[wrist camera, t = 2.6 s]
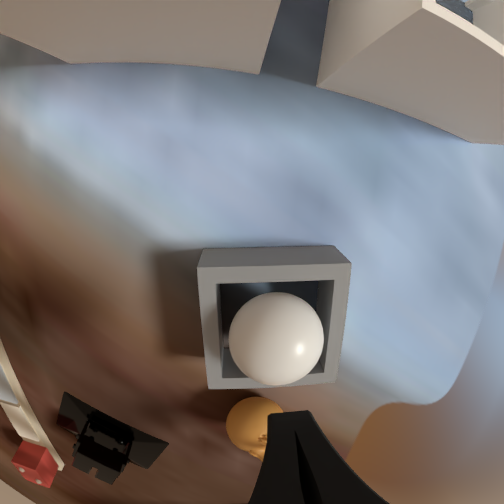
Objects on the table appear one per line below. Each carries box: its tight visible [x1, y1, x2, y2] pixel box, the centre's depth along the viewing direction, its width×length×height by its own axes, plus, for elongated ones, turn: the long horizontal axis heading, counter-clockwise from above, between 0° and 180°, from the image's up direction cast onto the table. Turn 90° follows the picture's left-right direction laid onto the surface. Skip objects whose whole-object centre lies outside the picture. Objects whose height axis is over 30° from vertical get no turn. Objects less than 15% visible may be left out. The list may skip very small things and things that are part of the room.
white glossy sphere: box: [229, 292, 324, 386], centre depth 15 cm, size 5×5×5 cm
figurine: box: [226, 397, 283, 462], centre depth 15 cm, size 8×6×12 cm
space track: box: [0, 339, 64, 488], centre depth 18 cm, size 20×4×4 cm, turn 1°
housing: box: [197, 246, 352, 389], centre depth 17 cm, size 7×7×3 cm
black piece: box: [57, 392, 169, 485], centre depth 20 cm, size 12×7×5 cm, turn 59°
